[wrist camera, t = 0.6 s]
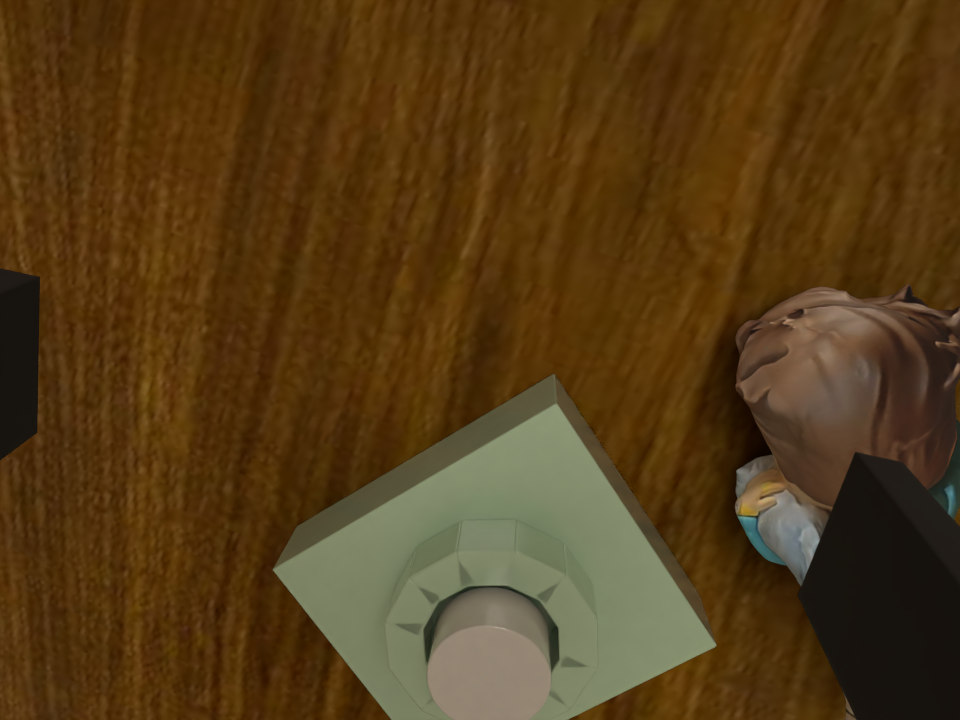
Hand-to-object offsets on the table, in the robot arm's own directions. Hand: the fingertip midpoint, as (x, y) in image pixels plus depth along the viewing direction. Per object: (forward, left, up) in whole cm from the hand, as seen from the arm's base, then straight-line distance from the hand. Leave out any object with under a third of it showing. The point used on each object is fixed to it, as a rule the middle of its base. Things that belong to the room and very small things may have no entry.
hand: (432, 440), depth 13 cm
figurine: (-6, +13, -15) cm, 21 cm away
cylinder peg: (+5, +9, -10) cm, 15 cm away
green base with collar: (+5, +9, -15) cm, 18 cm away
